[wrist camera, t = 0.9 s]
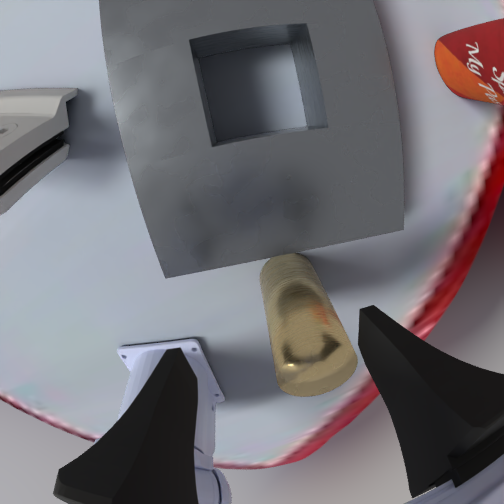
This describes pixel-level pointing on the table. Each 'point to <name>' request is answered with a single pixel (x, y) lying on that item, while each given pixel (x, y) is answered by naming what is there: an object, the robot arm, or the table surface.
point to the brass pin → (304, 329)
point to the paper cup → (473, 61)
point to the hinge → (30, 138)
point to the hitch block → (259, 145)
